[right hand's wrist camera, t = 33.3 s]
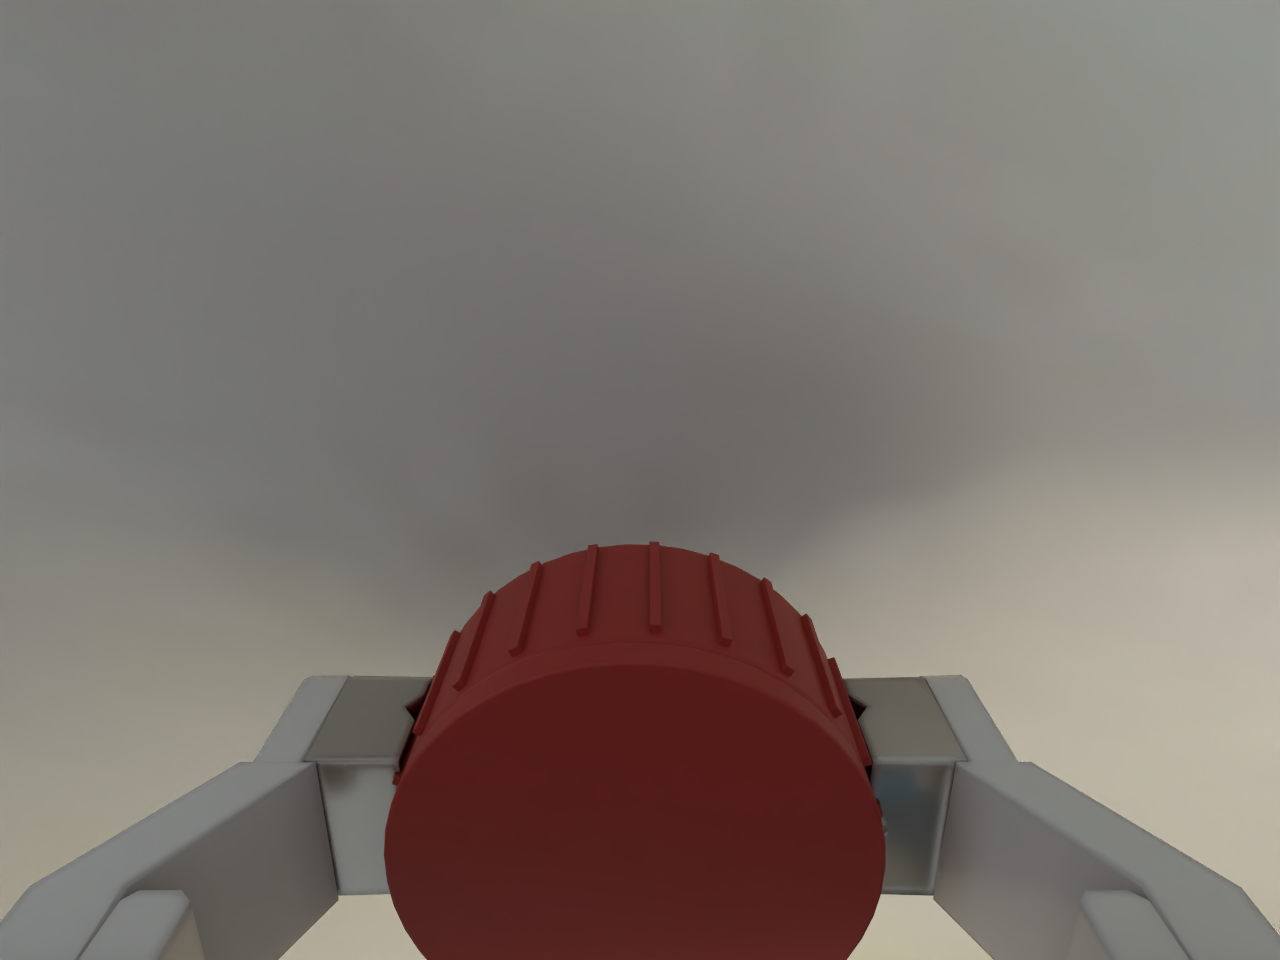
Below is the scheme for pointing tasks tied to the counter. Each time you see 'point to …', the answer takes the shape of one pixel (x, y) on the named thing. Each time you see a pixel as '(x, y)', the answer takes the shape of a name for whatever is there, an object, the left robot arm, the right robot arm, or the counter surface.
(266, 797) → the right robot arm
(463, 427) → the counter surface
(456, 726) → the lid
